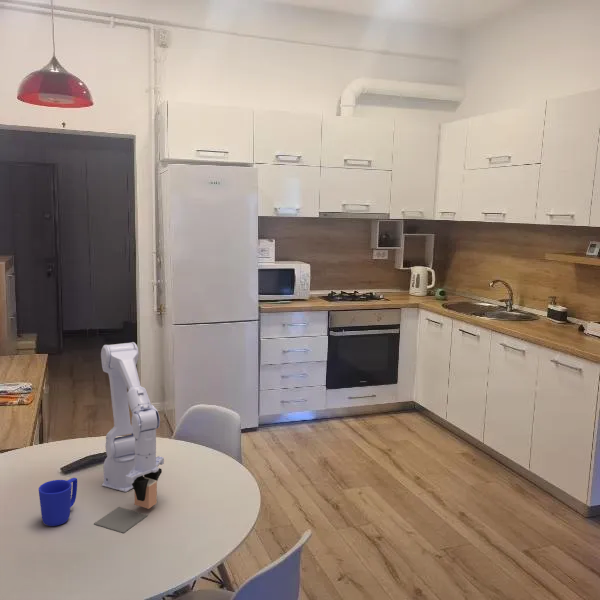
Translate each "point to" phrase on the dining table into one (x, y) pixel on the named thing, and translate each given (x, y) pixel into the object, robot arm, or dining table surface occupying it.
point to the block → (148, 495)
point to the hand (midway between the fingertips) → (145, 496)
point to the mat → (120, 519)
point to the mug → (57, 500)
